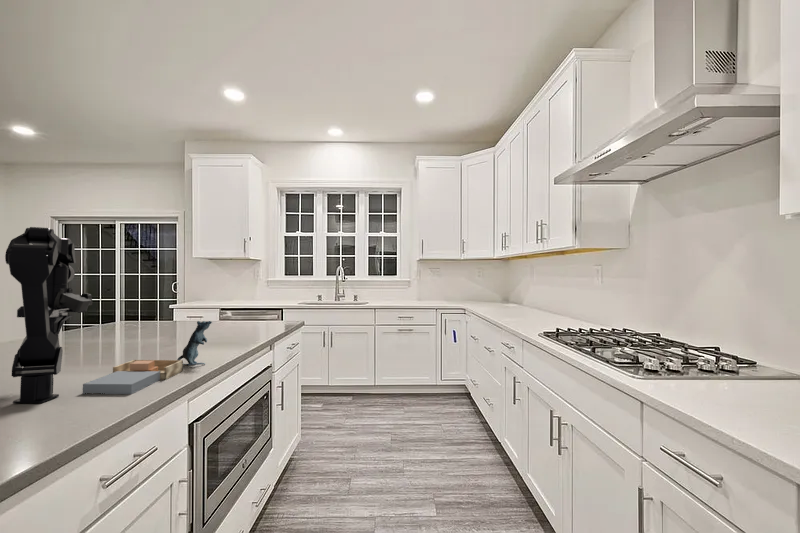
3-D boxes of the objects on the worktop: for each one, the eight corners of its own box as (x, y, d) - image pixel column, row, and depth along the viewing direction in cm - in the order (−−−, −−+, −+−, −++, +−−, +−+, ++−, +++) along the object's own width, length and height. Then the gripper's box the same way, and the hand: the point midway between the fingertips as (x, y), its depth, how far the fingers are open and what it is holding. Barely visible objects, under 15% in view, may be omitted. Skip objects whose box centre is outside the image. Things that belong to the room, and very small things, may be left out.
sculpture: (203, 367, 151) (205, 322, 152) (171, 366, 151) (173, 321, 152) (214, 362, 160) (215, 320, 160) (183, 362, 160) (185, 319, 160)
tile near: (148, 370, 133) (148, 363, 133) (129, 370, 133) (129, 363, 133) (154, 367, 138) (154, 360, 138) (136, 367, 137) (136, 360, 138)
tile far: (151, 376, 134) (151, 369, 134) (133, 376, 134) (133, 369, 134) (158, 373, 139) (158, 366, 139) (140, 373, 139) (140, 366, 139)
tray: (165, 379, 133) (166, 367, 133) (112, 379, 132) (112, 367, 132) (182, 371, 145) (182, 360, 145) (133, 370, 144) (134, 359, 144)
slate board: (131, 394, 116) (131, 384, 116) (82, 393, 116) (82, 384, 116) (159, 379, 132) (160, 371, 132) (117, 379, 132) (117, 371, 132)
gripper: (63, 285, 115) (60, 347, 114) (105, 284, 133) (103, 337, 133) (16, 284, 114) (13, 346, 113) (65, 283, 132) (63, 337, 132)
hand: (52, 341), depth 123 cm, fingers closed
